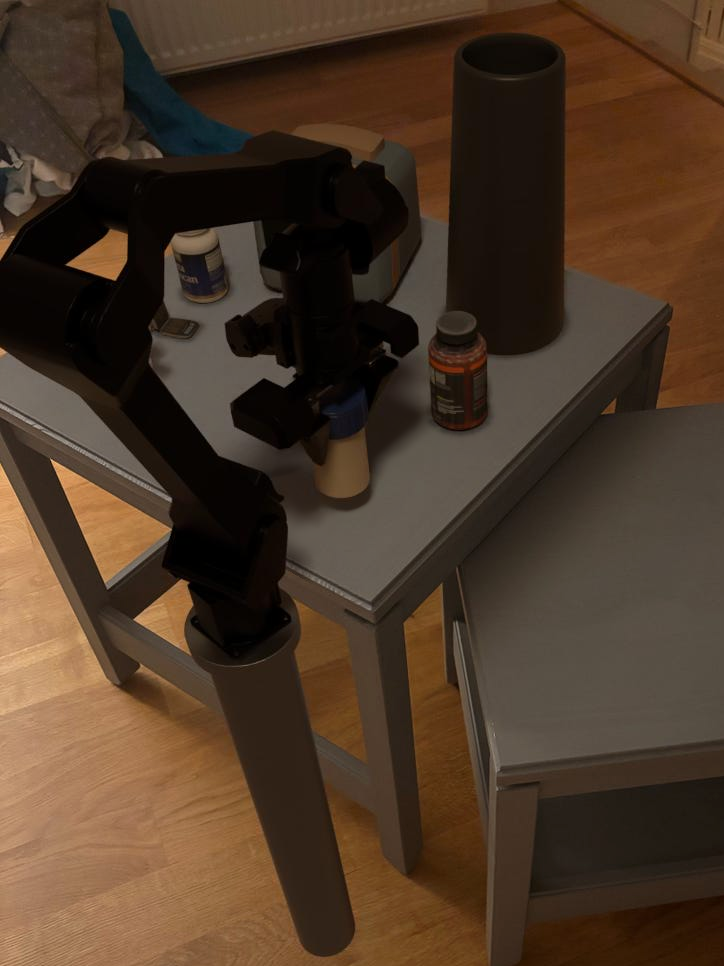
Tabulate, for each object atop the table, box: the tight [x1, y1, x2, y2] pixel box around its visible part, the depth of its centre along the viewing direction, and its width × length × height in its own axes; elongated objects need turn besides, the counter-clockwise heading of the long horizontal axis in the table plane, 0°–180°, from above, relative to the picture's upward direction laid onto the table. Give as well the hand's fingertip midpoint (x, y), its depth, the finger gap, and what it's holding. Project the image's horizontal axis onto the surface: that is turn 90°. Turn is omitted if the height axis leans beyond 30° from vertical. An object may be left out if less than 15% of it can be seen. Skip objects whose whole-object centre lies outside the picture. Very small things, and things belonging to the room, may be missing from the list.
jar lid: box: [318, 375, 369, 440], centre depth 93 cm, size 6×6×3 cm
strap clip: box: [150, 299, 200, 339], centre depth 118 cm, size 8×3×4 cm, turn 75°
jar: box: [311, 426, 371, 499], centre depth 96 cm, size 5×5×10 cm
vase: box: [445, 31, 567, 356], centre depth 110 cm, size 14×14×29 cm
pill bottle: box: [170, 228, 229, 304], centre depth 121 cm, size 5×5×10 cm
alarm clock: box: [252, 123, 422, 304], centre depth 122 cm, size 16×16×16 cm
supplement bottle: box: [427, 311, 489, 431], centre depth 106 cm, size 6×6×11 cm
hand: (338, 446), depth 96 cm, fingers closed on jar lid, 5 cm apart
